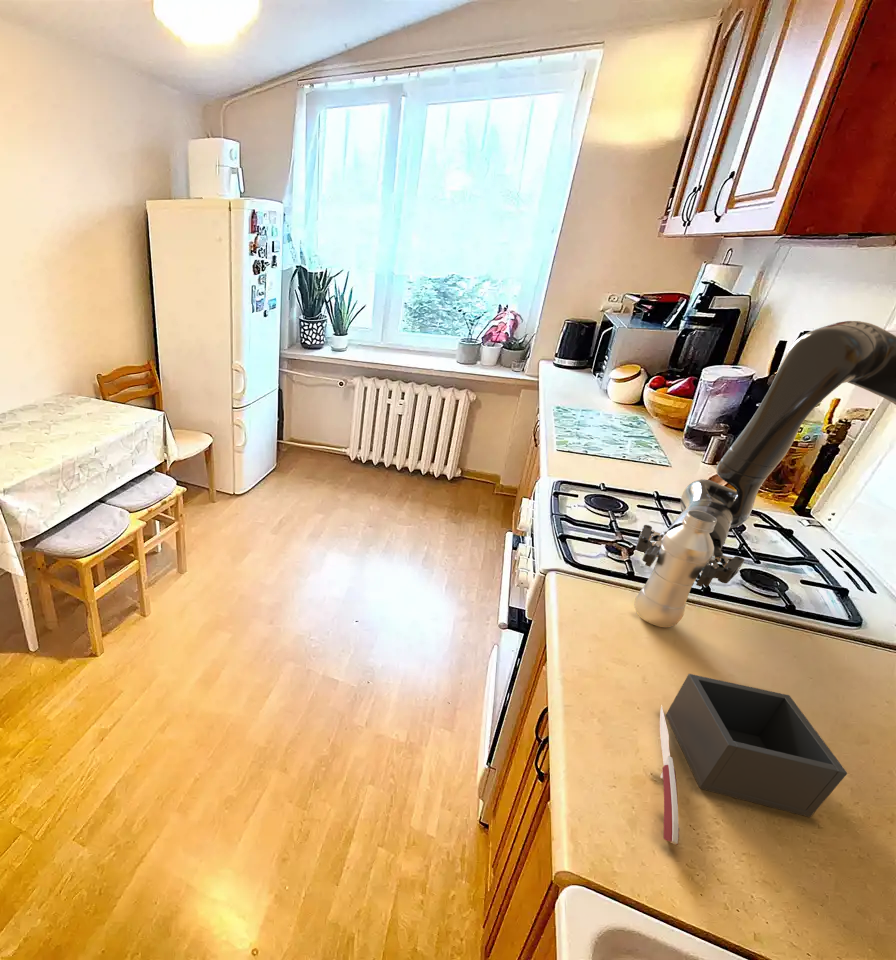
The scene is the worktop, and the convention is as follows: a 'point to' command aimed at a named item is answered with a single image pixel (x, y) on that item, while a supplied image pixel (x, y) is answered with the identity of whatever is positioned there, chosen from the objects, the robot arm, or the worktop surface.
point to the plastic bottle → (676, 570)
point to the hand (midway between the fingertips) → (674, 570)
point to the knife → (669, 787)
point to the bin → (752, 745)
